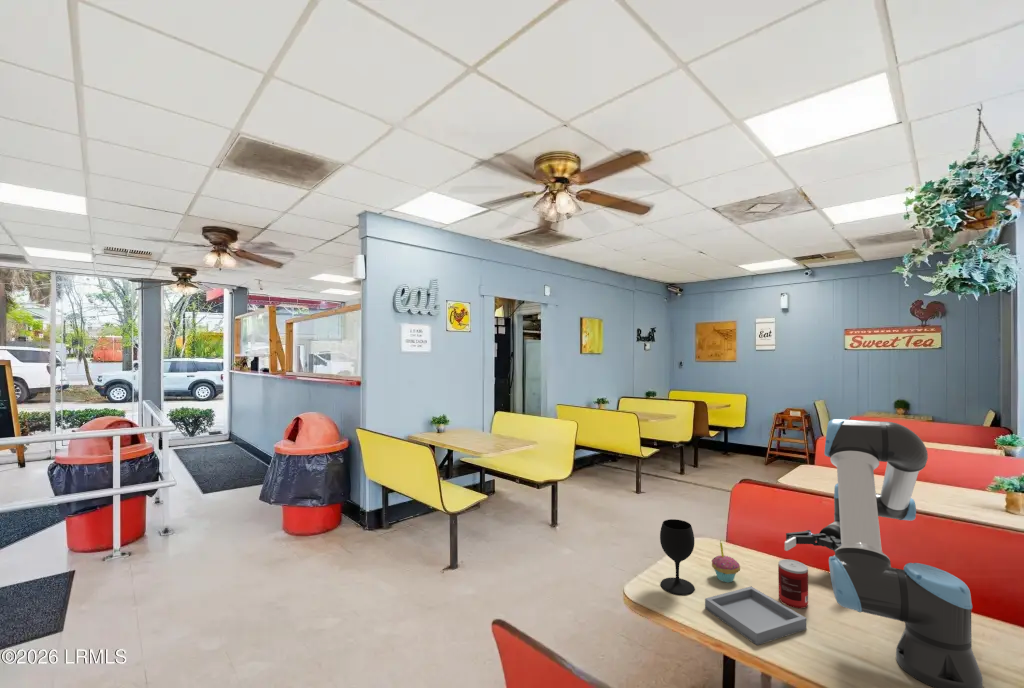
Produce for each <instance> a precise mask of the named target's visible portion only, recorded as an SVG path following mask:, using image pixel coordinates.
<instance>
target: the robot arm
mask: <svg viewBox="0 0 1024 688" xmlns="http://www.w3.org/2000/svg"><path fill="white" fill-rule="evenodd" d="M823 455H824V456H826V457H827V458H830V463H831V464H832V465H833V466H835V467H836V473H837V477H836V478H837V483H835V485H834V492H833V499H834V500H833V501H834V502H833V503H834V504H833V506H834V507H833V509H834V510H833V511H834V513H833V518H834V519H833V520H834V521H833V522H832V523H829V524H828V525H827V526H824V527H823V528H821V530H820V531H819V532H818V533H812V530H809V529H807V530H803V531H793V532H792V531H791V532H786V533H785V541H784V551H786V552H788V551H790V550H791V549H793V548H794V547H797V545H813V546H819V547H820V546H821V547H822V548H823V547H825V548H827V549H828V550H830V551H831V550H832V551H833V552H834V555H832V556H831V555H830V556H829V557H828V566H829V575H830V581H831V582H830V583H831V587H832V590H833V591H832V592H833V595H834V598H835V601H836V602H837V604H839V606H841V607H843V608H846V609H849V610H853V611H856V612H858V613H864V614H865V613H866V614H869V615H874V616H879V617H881V618H882V617H883V618H886V619H891V620H896V621H900V622H904V626H905V627H904V630H903V633H902V635H901V636H900V639H899V641H898V643H897V645H896V647H895V649H896V650H895V658H896V660H895V661H896V662H897V663H898V665H899V666H900V668H901V669H903V670H904V671H905V672H906V673H907V674H908V675H910V676H912V677H913V678H914V679H916V680H918V681H920V682H921V683H923V684H925V685H928V686H930V687H931V688H932V687H933V688H935V687H936V688H983V686H984V685H983V683H984V682H983V681H984V680H983V675H982V672H981V670H980V666H979V664H978V662H977V659H976V656H975V655H974V654H975V653H974V652H973V648H972V647H973V645H972V610H973V603H972V596H971V595H972V594H971V591H970V588H969V587H968V585H967V584H966V583H965V582H964V581H963V580H962V579H961V578H958V577H957V576H955V575H954V574H952V573H950V572H948V571H945V570H943V569H940V568H937V567H935V566H933V565H929V564H925V563H919V562H908V563H906V564H905V565H904V566H903V569H902V568H896V567H892V565H891V564H892V563H891V559H890V557H889V556H888V555H886V553H884V552H883V549H882V541H881V540H882V539H881V532H880V531H881V530H880V522H879V517H881V518H887V519H892V520H893V519H896V520H898V521H910V522H911V521H912V522H913V521H914V520H916V517H917V507H916V502H915V499H914V498H913V497H912V494H913V492H914V488H915V485H916V482H917V479H918V475H919V473H920V471H922V470H924V468H925V467H926V466H927V462H928V459H929V457H928V456H929V455H928V449H927V447H926V445H925V443H924V441H923V440H922V439H921V437H919V435H918V434H916V433H915V432H914V431H913V430H911V429H910V428H908V427H907V426H905V425H902V424H899V423H897V422H893V421H880V420H878V421H877V420H862V419H861V420H860V419H859V420H857V419H856V420H855V419H848V418H833V419H832V418H831V419H830V420H829V421H828V423H827V426H826V433H825V443H824V454H823ZM880 462H881V463H886V467H885V472H884V477H883V481H882V484H881V485H882V487H881V491H880V493H876V484H875V483H876V481H875V475H874V474H875V473H874V471H875V470H876V469H877V468H879V466H880Z"/></svg>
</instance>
